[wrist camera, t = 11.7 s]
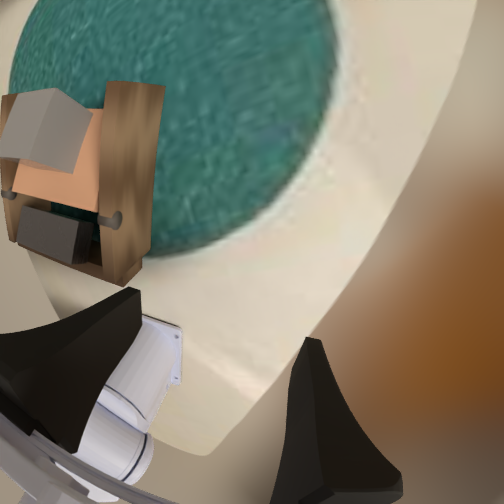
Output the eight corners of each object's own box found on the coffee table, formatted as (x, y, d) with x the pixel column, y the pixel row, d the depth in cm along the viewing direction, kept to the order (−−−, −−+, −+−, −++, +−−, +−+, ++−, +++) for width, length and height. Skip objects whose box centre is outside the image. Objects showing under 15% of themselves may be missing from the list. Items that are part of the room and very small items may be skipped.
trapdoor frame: (151, 259, 24) (116, 296, 19) (46, 226, 24) (10, 250, 20) (166, 86, 17) (121, 80, 12) (46, 91, 18) (0, 96, 13)
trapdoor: (102, 268, 19) (82, 271, 16) (22, 238, 20) (3, 237, 17) (140, 122, 18) (125, 109, 16) (53, 120, 19) (36, 111, 17)
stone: (72, 174, 16) (28, 159, 12) (35, 168, 17) (-5, 156, 12) (93, 113, 16) (56, 87, 12) (54, 114, 16) (18, 93, 12)
